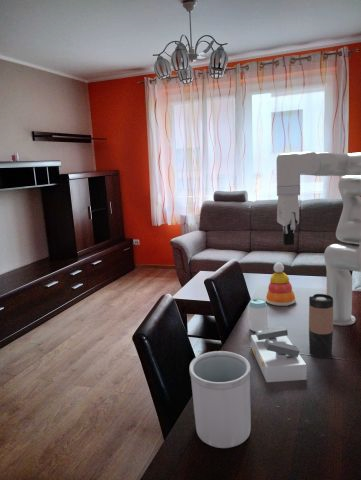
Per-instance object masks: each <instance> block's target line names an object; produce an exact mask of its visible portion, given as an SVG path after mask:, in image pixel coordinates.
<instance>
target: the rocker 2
mask: <svg viewBox="0 0 361 480" xmlns="http://www.w3.org/2000/svg"><path fill="white" fill-rule="evenodd" d="M264 345H265V347H266V349H267V350H269V351H273V352H278V353H282V354H286V355H290V356H294V357H298V355H300V350H299V348H298V347H297V345H295V344H294V345H293V344H292V345H289V344H285V343H281V342H277V341H273V340H269V339H266V340H265V344H264Z"/></svg>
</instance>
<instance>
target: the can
mask: <svg viewBox="0 0 361 480" xmlns="http://www.w3.org/2000/svg"><path fill="white" fill-rule="evenodd" d="M248 317H249V318H248V319H249V323H248V324H249V325H248V326H249V327H248V328H249V330H251V331H252V332H253V333H254V332H255V333H256V330H260V329H266V328H268V304H267V303H266V300H265V299H263V298H252V299H250V302H249V304H248Z"/></svg>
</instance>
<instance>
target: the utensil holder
mask: <svg viewBox="0 0 361 480" xmlns="http://www.w3.org/2000/svg"><path fill="white" fill-rule="evenodd" d="M251 369H252V368H251V364H250V362H249V360H248V359H247V358H246V357H244V356H242V355H240V354H239V353H235V352H232V351H224V350H218V351H217V350H214V351H208V352H205V353H202V354H200V355H198V356H196V357H194V358H193V359H192V360H191V362H190V364H189V376H190V381H191V390H192V392H191V393H192V399H193V401H192V402H193V403H192V404H193V413H194V422H195V430H196V434H197V436H198V437H199V439H200V440H201V441H202V442H203V443H205V444H207V445H209V446H210V447H214V448H218V449H219V448H220V449H229V448H233V447H237V446H239V445H241V444H243V443H244V442H245V441H246V440H247V439H248V438H249V437H250V434H251V431H252V430H251V427H252V426H251V425H252V424H251V423H252V421H251V418H252V417H251V416H252V414H251V413H252V412H251V410H252V409H251V408H252V407H251V380H250V376H251Z"/></svg>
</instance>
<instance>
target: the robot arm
mask: <svg viewBox="0 0 361 480" xmlns="http://www.w3.org/2000/svg"><path fill="white" fill-rule="evenodd" d="M275 161H276V196H277V204H276V205H277V208H276V209H277V211H276V213H277V214H276V222H277V224H279V225H281V226H282V233H283V237H282V238H283V239H282V240H283V245H285V246H294V245H295V230H296V226H298V225H299V224H300V207H299V206H300V203H299V202H300V201H299V196H300V195H301V176H315V177H340V178H339V179H338V184H337V185H338V187H337V188H338V191H339V194H340V196H341V199H342V205H343V207H342V211H341V214H340V218H339V221H338V224H337V226H336V230H335V237H336V239H337V240H339V241H340V242H343V243H347V244H343V243H332V244H329V245H328V246H327V247H326V248H325V250H324V255H323V256H324V258H323V259H324V264H325V269H326V294H325V295H329V296H331V297H333V326H341V327H342V326H350V325H353V324H354V323H356V317H355V316H354V315H352V310H353V309H352V308H353V307H352V306H353V305H352V303H353V302H352V301H353V299H352V297H353V277H352V274H351V272H356V273H357V272H358V273H361V152H352V153H351V152H350V153H349V152H346V153H344V152H331V151H329V152H327V151H326V152H314V151H299V152H289V153H280V154H278V155H277V156H276V160H275ZM350 244H355V245H356V246H355V245H350ZM357 245H358V246H357ZM350 271H351V272H350Z"/></svg>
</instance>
